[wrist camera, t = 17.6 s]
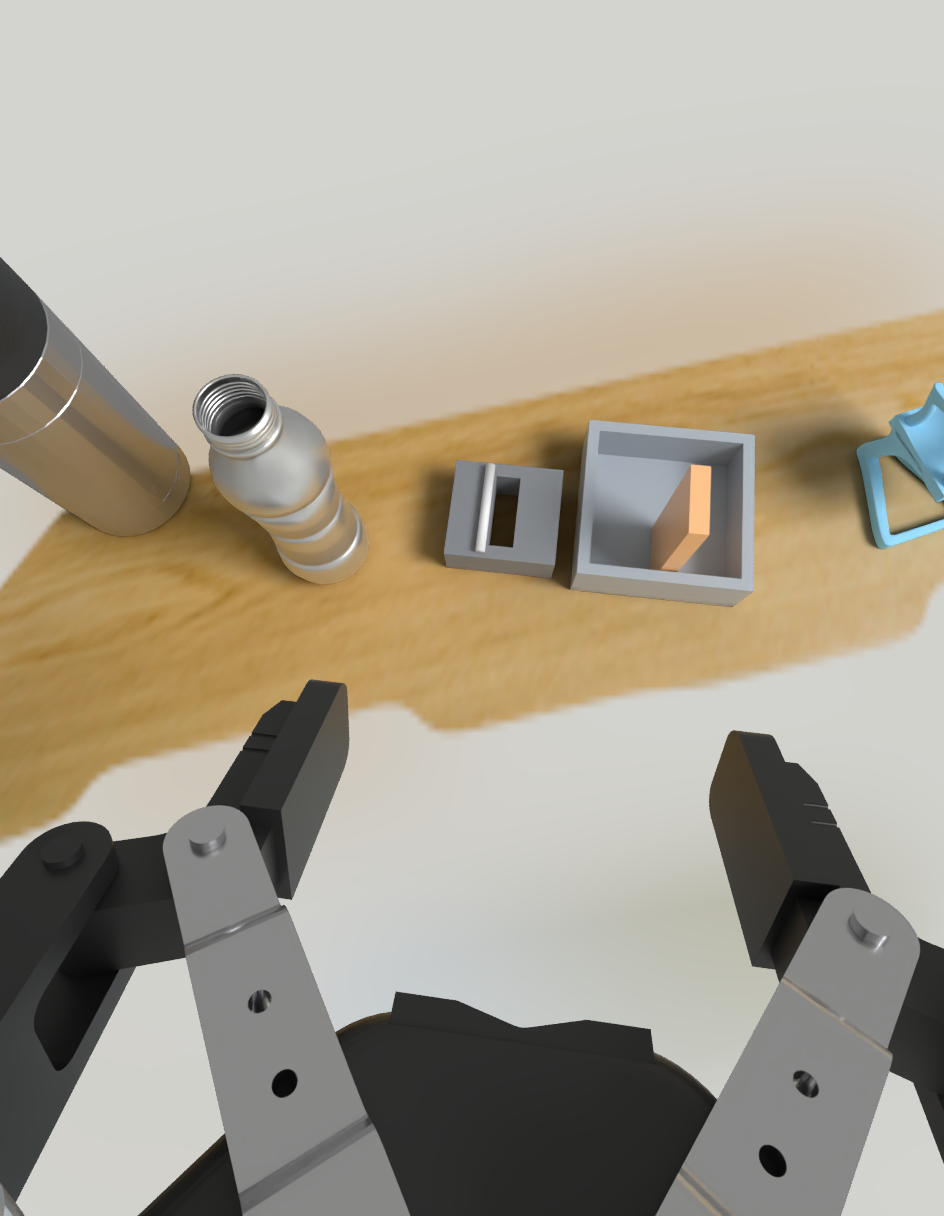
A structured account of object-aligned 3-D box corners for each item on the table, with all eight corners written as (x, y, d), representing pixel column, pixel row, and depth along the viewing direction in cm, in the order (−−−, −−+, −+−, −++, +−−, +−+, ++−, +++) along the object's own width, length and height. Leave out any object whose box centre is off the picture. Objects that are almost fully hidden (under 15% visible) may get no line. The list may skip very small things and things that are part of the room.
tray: (570, 589, 48) (576, 573, 44) (582, 447, 51) (589, 419, 48) (732, 606, 48) (753, 591, 44) (734, 461, 51) (754, 434, 47)
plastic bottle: (291, 514, 51) (166, 350, 31) (376, 512, 51) (304, 345, 31) (286, 593, 49) (151, 469, 30) (374, 590, 49) (296, 465, 30)
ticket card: (649, 583, 48) (688, 533, 38) (652, 527, 49) (691, 464, 39) (665, 585, 48) (709, 535, 38) (668, 529, 49) (711, 466, 39)
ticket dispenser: (446, 567, 49) (442, 550, 46) (459, 478, 51) (456, 455, 48) (551, 578, 49) (555, 561, 45) (559, 488, 51) (564, 465, 47)
